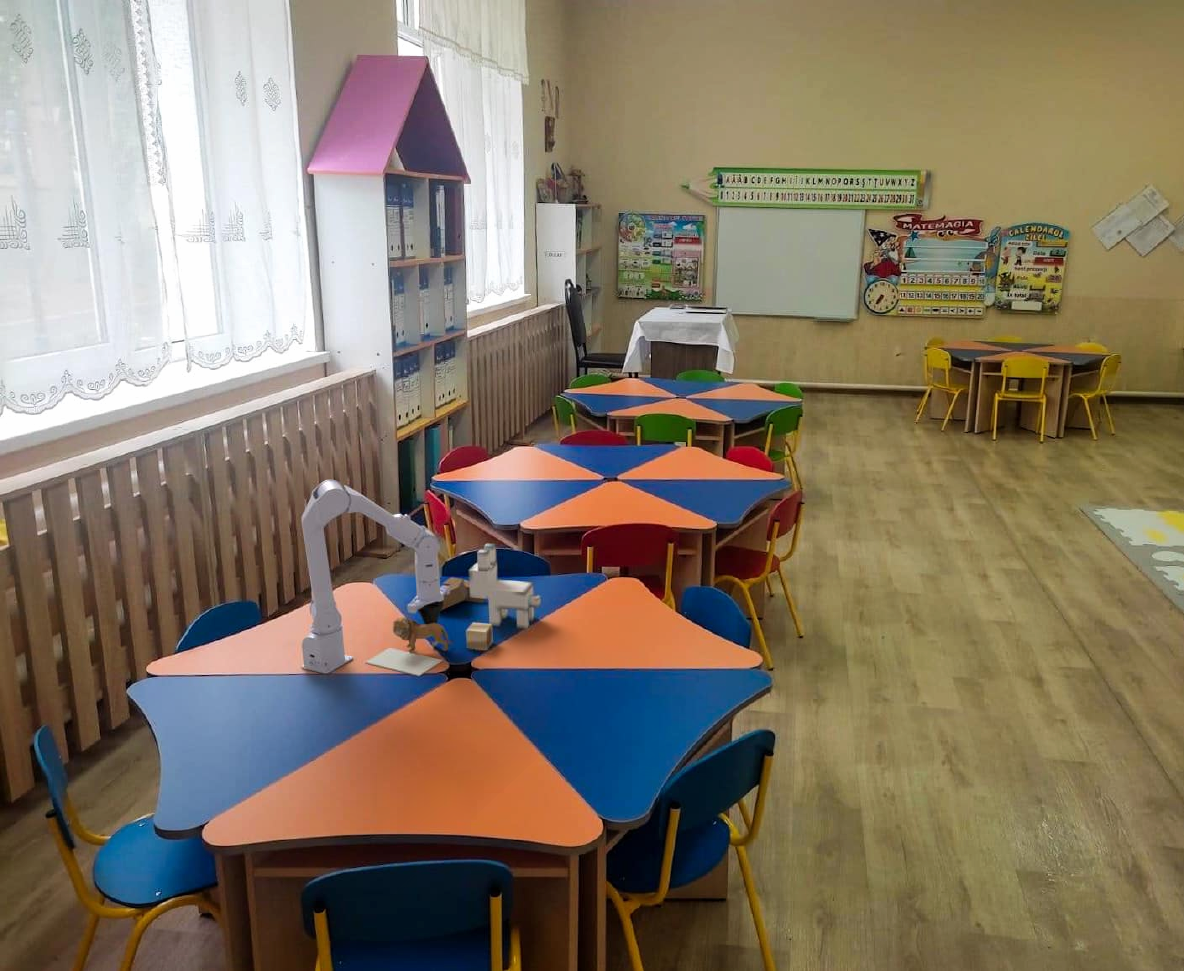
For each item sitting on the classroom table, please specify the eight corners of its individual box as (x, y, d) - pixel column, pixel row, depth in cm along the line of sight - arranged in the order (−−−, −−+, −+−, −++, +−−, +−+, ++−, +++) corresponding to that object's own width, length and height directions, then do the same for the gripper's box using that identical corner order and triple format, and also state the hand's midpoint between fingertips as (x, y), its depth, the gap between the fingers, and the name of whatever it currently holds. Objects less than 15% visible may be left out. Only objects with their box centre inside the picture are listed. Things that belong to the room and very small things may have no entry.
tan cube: (486, 650, 238) (486, 632, 237) (467, 649, 239) (466, 630, 238) (493, 642, 243) (492, 624, 242) (473, 641, 244) (472, 622, 243)
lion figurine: (394, 657, 234) (393, 624, 231) (392, 646, 239) (391, 614, 236) (455, 650, 239) (455, 617, 235) (451, 640, 243) (451, 608, 240)
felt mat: (419, 676, 225) (419, 675, 225) (365, 663, 232) (365, 662, 232) (442, 661, 233) (442, 660, 233) (389, 648, 240) (389, 647, 240)
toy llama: (535, 629, 250) (533, 556, 245) (471, 624, 254) (467, 551, 249) (543, 618, 257) (541, 546, 252) (481, 613, 261) (477, 542, 256)
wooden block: (490, 602, 277) (473, 618, 259) (446, 594, 279) (425, 609, 261) (494, 577, 276) (476, 591, 258) (449, 569, 278) (429, 582, 260)
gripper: (422, 591, 229) (426, 644, 233) (458, 571, 242) (461, 622, 245) (399, 586, 232) (402, 638, 236) (435, 567, 245) (438, 617, 248)
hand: (431, 630), depth 241 cm, fingers closed
